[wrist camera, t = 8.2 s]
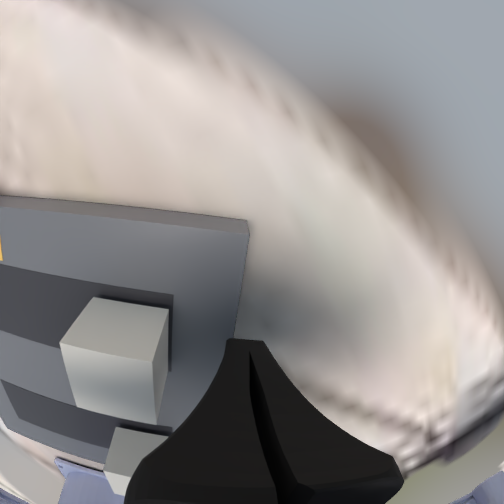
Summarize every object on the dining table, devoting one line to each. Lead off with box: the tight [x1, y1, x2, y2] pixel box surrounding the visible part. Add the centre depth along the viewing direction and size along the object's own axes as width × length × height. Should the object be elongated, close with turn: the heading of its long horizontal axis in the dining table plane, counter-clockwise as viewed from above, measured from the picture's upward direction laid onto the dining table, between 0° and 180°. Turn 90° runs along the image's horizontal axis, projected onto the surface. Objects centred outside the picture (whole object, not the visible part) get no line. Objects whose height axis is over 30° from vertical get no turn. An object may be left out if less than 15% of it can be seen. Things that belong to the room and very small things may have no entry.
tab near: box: [59, 297, 169, 425], centre depth 9 cm, size 3×3×3 cm
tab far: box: [103, 427, 168, 496], centre depth 12 cm, size 3×3×3 cm
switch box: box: [0, 195, 250, 464], centre depth 13 cm, size 17×16×2 cm
